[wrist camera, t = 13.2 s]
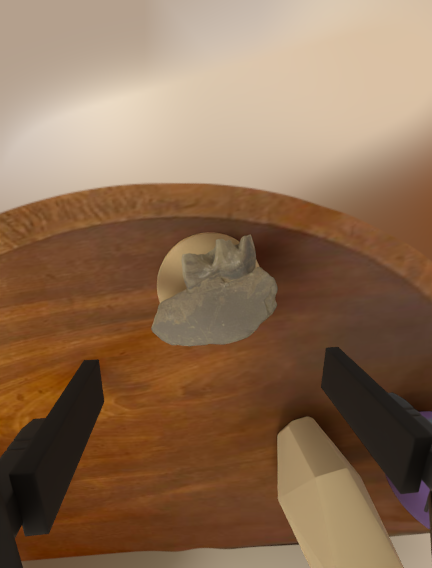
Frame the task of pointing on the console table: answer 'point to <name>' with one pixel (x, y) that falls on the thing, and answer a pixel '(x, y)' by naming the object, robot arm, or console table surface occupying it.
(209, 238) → the maple disc
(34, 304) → the console table surface
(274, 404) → the console table surface
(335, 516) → the perfume bottle
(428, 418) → the decorative ball
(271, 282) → the fossil
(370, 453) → the robot arm
